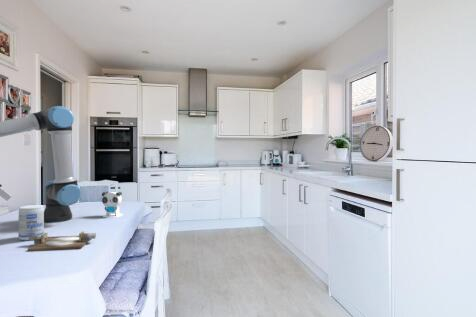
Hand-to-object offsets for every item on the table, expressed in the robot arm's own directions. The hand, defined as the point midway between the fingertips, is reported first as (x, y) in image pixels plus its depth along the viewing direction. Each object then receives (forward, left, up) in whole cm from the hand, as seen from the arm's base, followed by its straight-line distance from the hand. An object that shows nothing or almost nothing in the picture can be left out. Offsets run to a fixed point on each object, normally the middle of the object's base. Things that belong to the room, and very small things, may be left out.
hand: (3, 201), depth 128 cm
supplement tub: (-2, +10, -18) cm, 21 cm away
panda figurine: (-44, +35, -18) cm, 59 cm away
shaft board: (+9, +28, -18) cm, 35 cm away
